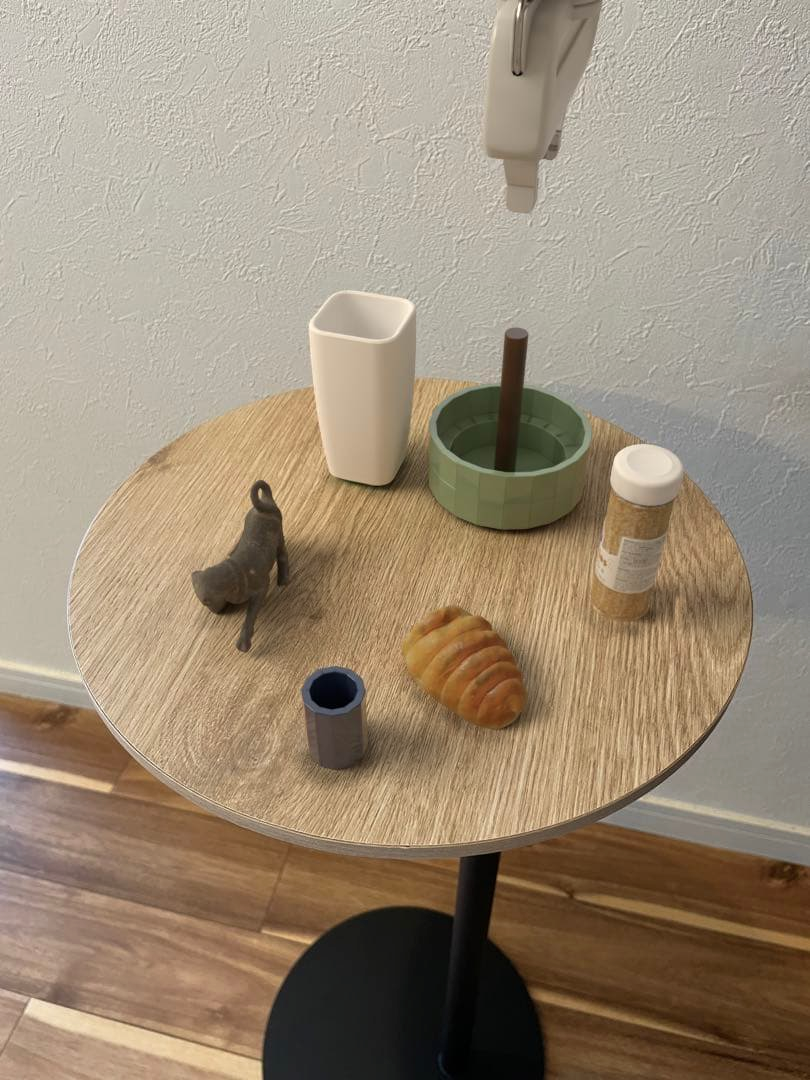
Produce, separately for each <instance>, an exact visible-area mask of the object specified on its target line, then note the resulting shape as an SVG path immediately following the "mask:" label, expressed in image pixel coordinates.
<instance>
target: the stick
mask: <svg viewBox="0 0 810 1080" xmlns="http://www.w3.org/2000/svg"><path fill="white" fill-rule="evenodd" d="M503 336H504V337H503V350H502V351H503V352H502V361H501V362H502V364H501V376H500V383H501V387H500V399H499V412H498V424H497V437H496V449H495V462H494V470H496V471H502V472H515V468H516V458H517V447H518V437H519V427H520V417H521V407H522V397H523V386H524V384H525V375H526V364H527V355H528V354H527V353H528V343H529V336H530V335H529V332H528V330H526V329H525V328H523V327H517V326H516V327H510V328H507V329H506V330H505V331H504V335H503Z"/></svg>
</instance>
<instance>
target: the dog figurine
mask: <svg viewBox="0 0 810 1080" xmlns="http://www.w3.org/2000/svg"><path fill="white" fill-rule="evenodd" d="M259 490H260V491H261V497H259ZM249 498H250V501H251V503H252V507H251V508H250V509H249V510H248V512H247V514H246V515H245V518H244V523H243V524H244V525H243V530H242V532H241V535H240V537H239V539H238V540H237V542H236V543H235V544H234V546H233V548H232V549H231V551H230V552H229V553H228V557H229V558H226V559H224V560H222V561H221V562H219V563H216V564H214V565H212V566H208V567H206V568H205V569H204V570H194V571H192V572H191V575H190V577H191V582H192V583H191V584H192V587H193V590H194V593H195V596H196V598H197V599H198V600H199V602H200V603H201V605H202V606H204V607H206V608H207V609H208V611H209V612H210V613H211V614H215V615H217V614H219V613H221V612H223V610H224V609H225V608H226V607H227V606H228V605H229V604H230V603H231V604H233V605H240V604H243V603H245V602H247V601H248V603H247V604H248V605H247V609H246V614H245V618H244V622H243V625H242V626H241V630H240V635H239V637H238V639H237V641H236V643H235V648H236V650H238V652H241V653H248V652H249V651H250V650H251V648H252V638H253V637H254V634H255V624H256V621H257V618H258V615H259V613H260V610H261V607H262V605H263V604H264V601H265V600H266V598H267V595H268V592H269V589H270V586H271V577H270V573H271V572H272V570H273V569H274V566H275V562H276V571H277V573H276V574H277V581H276V585H277V587H284V586H288V585H289V584H290V577H289V575H290V567H289V553H288V550H287V548H286V542H285V541H286V540H285V535H284V529H283V528H284V527H283V513H282V511H281V509H280V508H279V506H278V504H277V503H276V501H275V499H274V497H273V491H272V487H271V486H270V485H269V483H267V481H265V480H264V479H259V480H256V481H255V482H254V483H253V484H252V486H251V488H250V493H249Z"/></svg>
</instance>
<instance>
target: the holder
mask: <svg viewBox="0 0 810 1080" xmlns="http://www.w3.org/2000/svg"><path fill="white" fill-rule="evenodd" d="M300 694H301V702H302V703H301V704H302V713H303V721H304V730H305V739H306V740H305V741H306V747H307V751H308V756H309V757H310V758H311V759H312V761H313V762H314V763H315V764H317V765H318V766H320V767H321V768H324V769H328V770H344V769H348V768H350V767H353V766H355V765H356V764H357V763H358V762H359V761H361V760H362V758H364V756H365V754H366V752H367V748H368V746H369V738H368V736H369V735H368V717H367V716H368V712H367V690H366V686H365V682H364V680H363V678H362V677H361V676H360V675H359V674H358V673H356V672H355V671H354V670H353V669H351V668H347V667H342V666H339V665H331V666H326V667H322V668H318V669H317V670H315V671H314V672H312V673H311V674H310V675H308V676H307V677H306V679H305V680H304V683H303V685H302V687H301V690H300Z"/></svg>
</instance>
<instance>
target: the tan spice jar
mask: <svg viewBox="0 0 810 1080" xmlns="http://www.w3.org/2000/svg"><path fill="white" fill-rule="evenodd" d="M683 476H684V465H683V463H682V461H681V460H680V458H679V457H678V456H677V455H676V454H675V453H674V452H673V451H670V450H669V449H667V448H665V447H662V446H658V445H655V444H647V443H638V444H637V443H636V444H632V445H628V446H626V447H624V448H622V449H620V450H619V451H618V452H617V454H616V455H615V456H614V458H613V462H612V466H611V472H610V479H609V481H610V494H609V500H608V503H607V510H606V514H605V517H604V521H603V525H602V531H601V536H600V537H601V538H600V541H599V545H598V551H597V556H596V561H595V568H594V571H595V572H594V576H593V581H592V587H591V588H590V590H589V591H590V592H589V595H588V600H589V603H590V605H591V608H592V609H593V610H594V611H595V612H596V613H597V614H598V615H600V616H601V617H604V618H605V619H607V620H611V621H613V622H621V623H629V622H630V623H631V622H635V621H638V620H640V619H641V618H642V617H644V616H646V615H647V613H648V612H649V610H650V606H651V605H650V604H651V603H650V599H651V595H652V590H653V587H654V584H655V583H656V579H657V575H658V571H659V568H660V563H661V559H662V555H663V552H664V549H665V544H666V539H667V535H668V531H669V527H670V521H671V515H672V511H673V508H674V503H675V500H676V499H677V497H678V495H679V493H680V490H681V487H682V481H683Z"/></svg>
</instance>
